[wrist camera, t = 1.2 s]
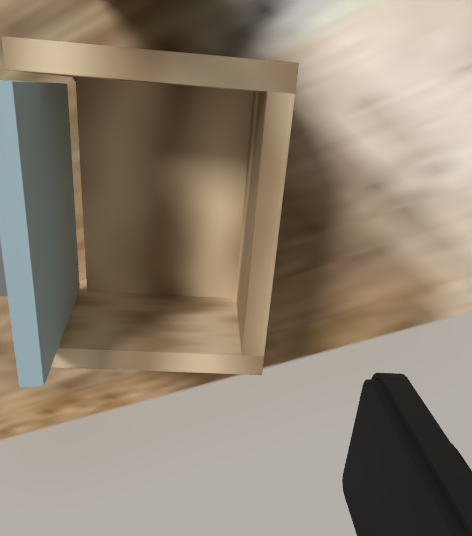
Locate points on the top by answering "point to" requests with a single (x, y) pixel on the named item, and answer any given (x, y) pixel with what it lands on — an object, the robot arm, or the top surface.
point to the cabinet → (173, 203)
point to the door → (36, 222)
